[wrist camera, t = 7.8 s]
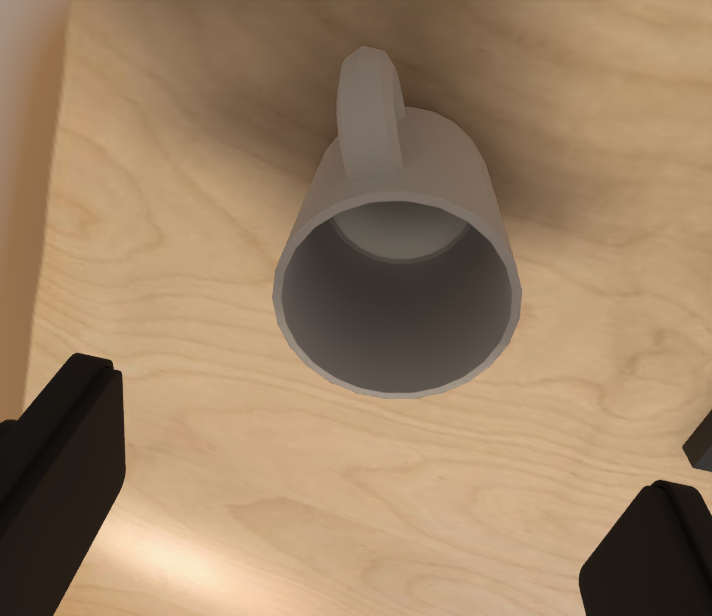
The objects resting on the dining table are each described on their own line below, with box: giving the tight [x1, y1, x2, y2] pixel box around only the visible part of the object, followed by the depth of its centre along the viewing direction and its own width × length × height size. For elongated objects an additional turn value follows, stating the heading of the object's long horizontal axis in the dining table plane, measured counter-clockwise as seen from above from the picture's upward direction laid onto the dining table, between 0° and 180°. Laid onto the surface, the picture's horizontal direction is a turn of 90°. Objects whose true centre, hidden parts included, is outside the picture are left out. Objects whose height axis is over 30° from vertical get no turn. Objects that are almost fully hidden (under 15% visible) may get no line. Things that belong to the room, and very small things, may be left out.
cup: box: [272, 46, 522, 399], centre depth 19 cm, size 7×10×9 cm
